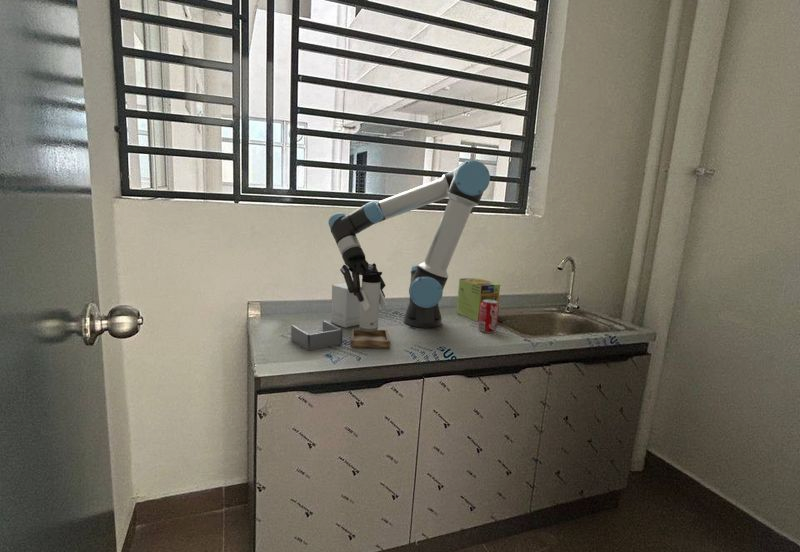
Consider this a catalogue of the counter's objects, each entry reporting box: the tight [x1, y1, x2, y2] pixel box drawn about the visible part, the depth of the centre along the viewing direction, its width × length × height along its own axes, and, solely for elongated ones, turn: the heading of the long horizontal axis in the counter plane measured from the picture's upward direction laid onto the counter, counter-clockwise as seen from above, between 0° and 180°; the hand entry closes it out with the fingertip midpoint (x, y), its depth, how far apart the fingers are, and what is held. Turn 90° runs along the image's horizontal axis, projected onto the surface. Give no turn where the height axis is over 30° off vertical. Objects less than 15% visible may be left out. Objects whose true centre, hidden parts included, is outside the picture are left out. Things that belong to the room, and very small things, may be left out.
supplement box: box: [330, 282, 362, 328], centre depth 169 cm, size 9×9×15 cm
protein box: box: [456, 277, 501, 323], centre depth 191 cm, size 10×15×16 cm
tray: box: [350, 328, 391, 350], centre depth 150 cm, size 13×13×2 cm
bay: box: [290, 320, 343, 351], centre depth 147 cm, size 12×13×5 cm
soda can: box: [478, 299, 500, 334], centre depth 170 cm, size 7×7×12 cm
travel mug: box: [358, 271, 383, 332], centre depth 148 cm, size 6×7×20 cm
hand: (376, 307), depth 146 cm, fingers closed on travel mug, 6 cm apart
